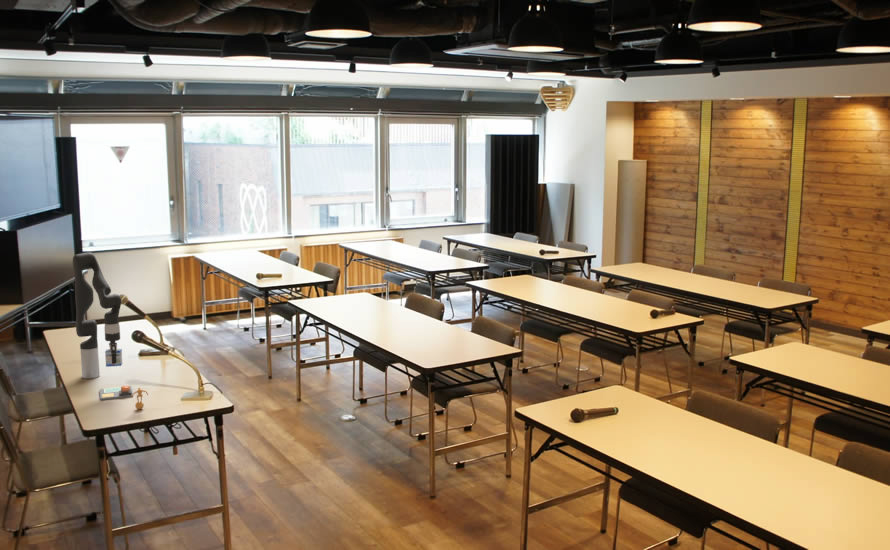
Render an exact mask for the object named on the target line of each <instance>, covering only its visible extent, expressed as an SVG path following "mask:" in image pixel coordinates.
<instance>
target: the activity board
mask: <svg viewBox="0 0 890 550" xmlns="http://www.w3.org/2000/svg"><path fill="white" fill-rule="evenodd" d="M129 386H130V390H129V391H126V392H123V391H121V387H122V386H117V387H116V386H115V387H106V388H100V389H99V398H100V401H107V400H108V401H109V400H117V399H125V398H131V396H132V395H133V393H134V392H133V387H132V385H129ZM132 397H134V395H133V396H132Z"/></svg>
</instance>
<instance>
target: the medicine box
mask: <svg viewBox="0 0 890 550" xmlns="http://www.w3.org/2000/svg"><path fill="white" fill-rule="evenodd" d="M122 350H123V348H117V352H116V355H117V356H116V363H115V364H112V357H111V353H110V348H109V349H106V350H105V351H104V353H105V355H104V357H105V367H106V368H109V367H121V366H122V365H123V351H122ZM112 354H115V353H112Z"/></svg>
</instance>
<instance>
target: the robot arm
mask: <svg viewBox="0 0 890 550" xmlns="http://www.w3.org/2000/svg"><path fill="white" fill-rule="evenodd" d="M72 266H73V267H72V268H73V269H72V270H73V274H74V276H73V277H74V288H75V289H74V294H75V295H74V297H75V299H74V300H75V308H76V309H75V311H76V314H75V315H76V317H75V319H76V320H75V331H76V336H78V337H79V338H83V337H84V338H85V337H86V338H87V337H89V338H88V339H87V340H84V341H81V343H79V346H80V347H79V350H80V362H81V363H80V366H81V377H82V379H96V378H98V377H100V373H101V372H100V359H99V344H98V323H97V321H96V320H95V319H87V320H84V317H85V316H86V313H87V312H88V310H89V309H90V308H91V307H92V305H93V303H94V291H95V293H97V297H98V299H99V300H98V301H99V306H100V307H101V308H102V309H105V310H107V309H110V311H108V312H106V313H104V315H103V316H104V317H103V318H104V340H105V342H109V343H108V345H109V349H110V353H111V357H112V364H115V363H116V356H117V355H116V352H117V349H118V342H117V341H120V340H121V328H120V319H119V318H120V317H119V316H120V315H119V314H120V310H121V306H122V299H121V296H120V295H119V294H117V293H116V294H115V293H114V294H113V293H112V289H111V287H110V285H109V284H108V282H107V280H106V279H105V277H104V275H103V272H102V269H101V266H100V264H99V261H98V260H97V258H96V256H95V255H94V253H92V252H81V253H77V254H74V255H73V257H72ZM87 270H92V271H93V274H92V275H93V276H92V281H91V283H92V285H91V284H90V283H88V281H87V280H86V279H85V277H84V276H83V275H84V274H83V271H87ZM111 293H112V294H111ZM112 353H115V354H112Z"/></svg>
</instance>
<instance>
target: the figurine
mask: <svg viewBox="0 0 890 550" xmlns="http://www.w3.org/2000/svg"><path fill="white" fill-rule="evenodd" d="M142 393H146V395H147V396H149V394H148V392H147V391H146V390H143V389H142V388H141V387H138V389H137V390H136V391H135V392H133V395H132V396H133V397H134V395H135V394H137V395H136V403H135V404H134V405H135V409H137V410H142V409H143V408H144V406H145V405H144V403H143V401H142V400H143V394H142ZM132 396H131V397H130V398H131V399H132ZM139 398H140V401H139Z"/></svg>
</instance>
